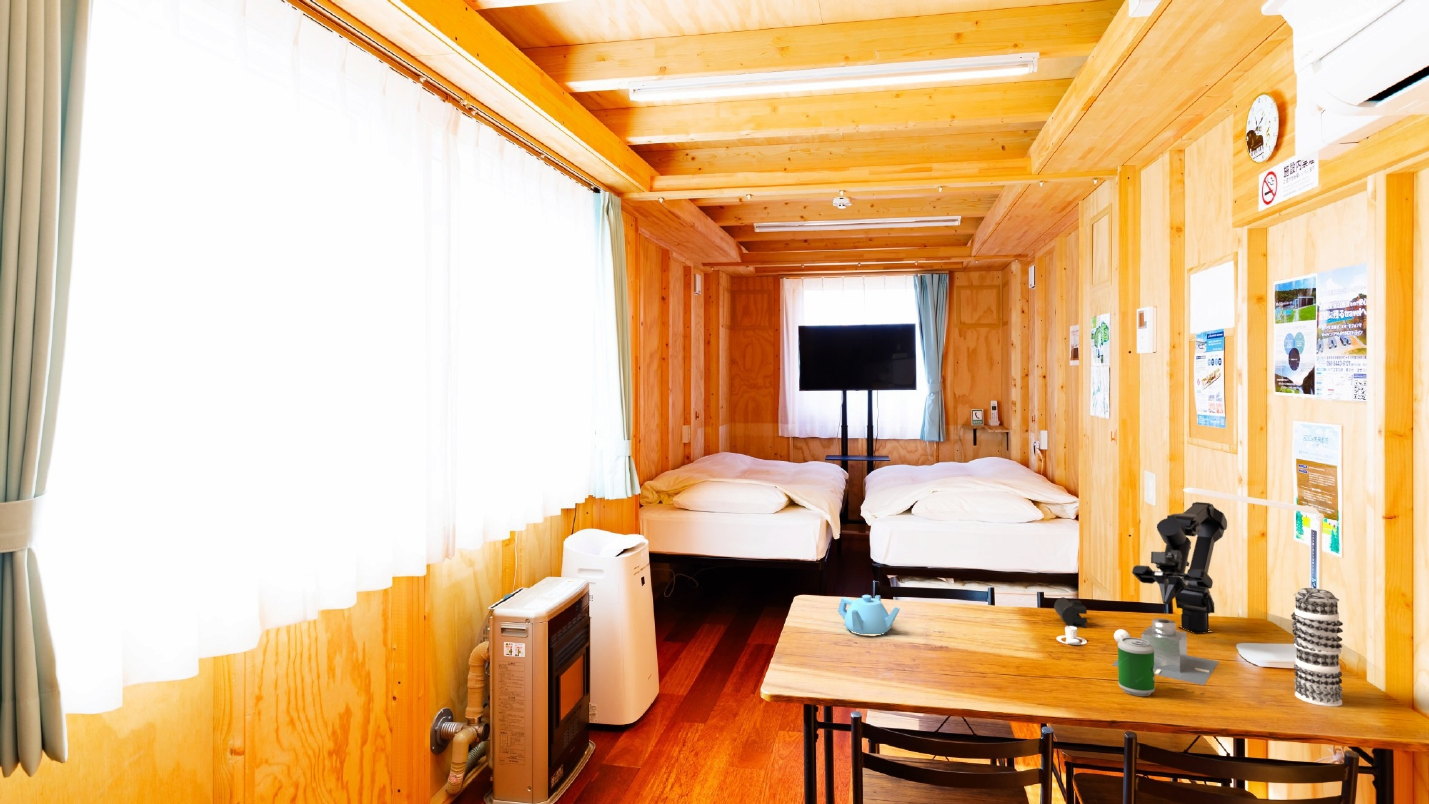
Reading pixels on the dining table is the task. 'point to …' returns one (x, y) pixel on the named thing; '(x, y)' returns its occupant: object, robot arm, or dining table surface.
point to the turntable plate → (1192, 672)
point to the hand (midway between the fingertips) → (1165, 603)
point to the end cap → (1071, 612)
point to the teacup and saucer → (1071, 636)
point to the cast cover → (1167, 645)
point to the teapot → (866, 615)
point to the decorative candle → (1317, 647)
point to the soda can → (1136, 666)
